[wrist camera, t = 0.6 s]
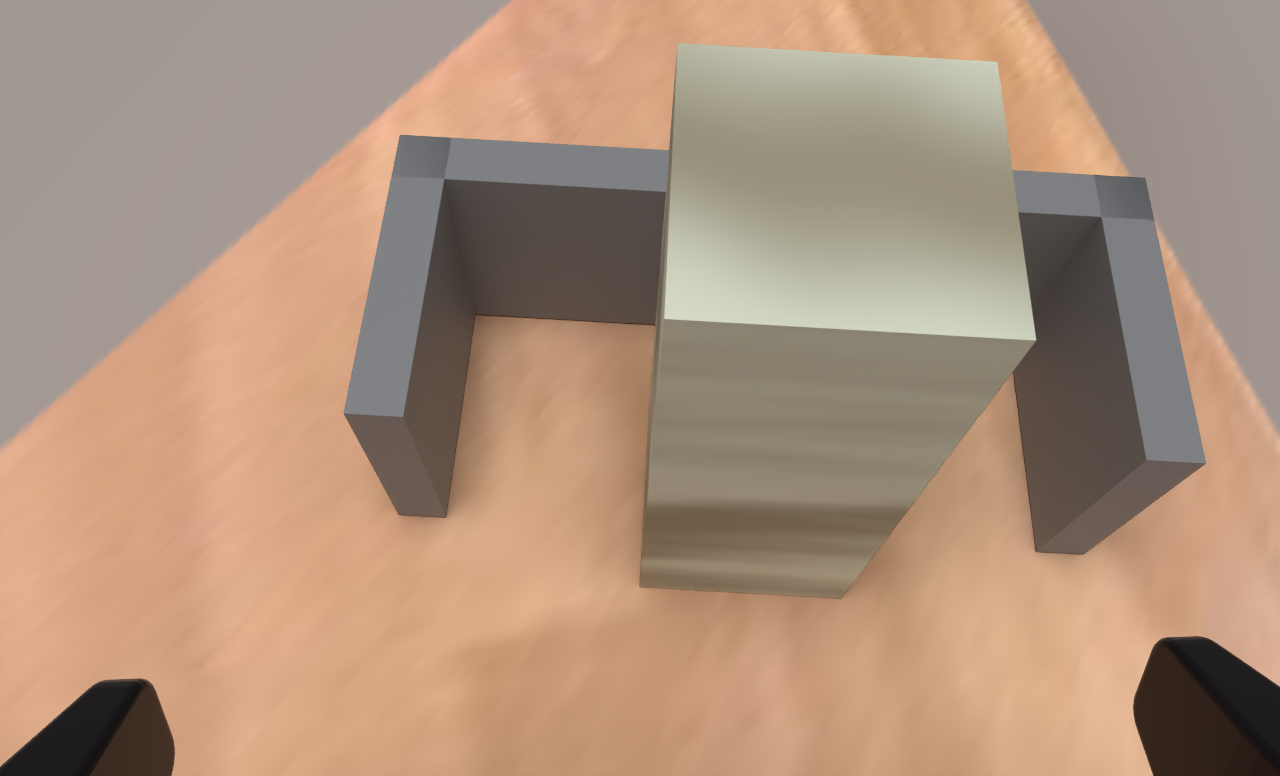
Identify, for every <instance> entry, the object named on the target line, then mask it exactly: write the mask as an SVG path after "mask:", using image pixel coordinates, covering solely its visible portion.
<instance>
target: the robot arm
mask: <svg viewBox="0 0 1280 776" xmlns="http://www.w3.org/2000/svg"><path fill="white" fill-rule="evenodd" d="M1133 711H1134V719H1135V723H1136V727H1137V730H1138V733H1139V736H1140V739H1141V741H1142V744H1143V747H1144V750H1145V753H1146V756H1147V759H1148V762H1149V764H1150V767H1151V770H1152V773H1153V776H1280V687H1279V686H1278V685H1277V684H1275V683H1274V682H1272V681H1271V680H1269V679H1268V678H1266V677H1265V676H1264V675H1262V674H1261V673H1259V672H1258V671H1256V670H1255V669H1253V668H1252V667H1250V666H1249V665H1248V664H1246V663H1245V662H1243V661H1242V660H1240V659H1239V658H1237V657H1236V656H1235V655H1233V654H1232V653H1230V652H1229V651H1227V650H1226V649H1224V648H1223V647H1222V646H1220V645H1219V644H1217V643H1215V642H1214V641H1212V640H1210V639H1208V638H1205V637H1200V636H1193V637H1168V638H1163V639H1161V640H1159V641H1158V642H1157V643H1156V644H1155V645H1154V647H1153V649H1152V652H1151V654H1150V657H1149V659H1148V662H1147V665H1146V667H1145V670H1144V673H1143V675H1142V678H1141V681H1140V683H1139V686H1138V689H1137V691H1136V694H1135V698H1134V705H1133ZM174 758H175V747H174V740H173V737H172V734H171V731H170V728H169V726H168V723H167V720H166V717H165V715H164V712H163V709H162V707H161V704H160V701H159V698H158V696H157V693H156V690H155V689H154V687H153V685H152V684H151V683H150V682H149V681H147V680H146V679H116V680H104V681H101V682H98V683H97V684H95V685H93V686H92V687H90V688H89V689H88V690H87V691H86V692H85V693H83V694H82V695H81V696H80V697H79V698H78V699H77V700H75V701H74V702H73V703H72V704H71V705H70V706H69V707H68V708H66V709H65V710H64V711H63V712H62V713H61V714H60V715H58V716H57V717H56V718H55V719H54V720H53V721H52V722H50V723H49V724H48V725H47V726H46V727H45V728H44V729H43V730H41V731H40V732H39V733H38V734H37V735H36V736H35V737H33V738H32V739H31V740H30V741H29V742H28V743H27V744H25V745H24V746H23V747H22V748H21V749H20V750H19V751H18V752H16V753H15V754H14V755H13V756H12V757H11V758H10V759H8V760H7V761H6V762H5V763H4V764H3V765H2V766H1V767H0V776H172V771H173V766H174Z"/></svg>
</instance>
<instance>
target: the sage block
mask: <svg viewBox="0 0 1280 776" xmlns="http://www.w3.org/2000/svg"><path fill="white" fill-rule="evenodd" d="M1035 342H1036V335H1035V328H1034V321H1033V314H1032V307H1031V300H1030V292H1029V285H1028V278H1027V271H1026V264H1025V257H1024V250H1023V243H1022V235H1021V228H1020V221H1019V214H1018V207H1017V200H1016V193H1015V186H1014V179H1013V171H1012V164H1011V157H1010V150H1009V143H1008V136H1007V129H1006V122H1005V114H1004V107H1003V100H1002V93H1001V86H1000V79H999V72H998V65H997V62H990V61H973V60H955V59H938V58H921V57H904V56H887V55H869V54H852V53H835V52H818V51H801V50H784V49H766V48H749V47H732V46H715V45H698V44H680V43H678V44H677V56H676V69H675V82H674V95H673V107H672V120H671V133H670V146H669V159H668V171H667V184H666V197H665V210H664V222H663V235H662V248H661V261H660V273H659V286H658V299H657V312H656V325H655V337H654V350H653V363H652V376H651V388H650V401H649V418H648V437H647V455H646V474H645V493H644V512H643V530H642V549H641V568H640V587H648V588H666V589H683V590H700V591H717V592H734V593H751V594H769V595H786V596H803V597H820V598H837V599H841V598H842V597H843V596H844V594H845V593H846V592H847V590H848V589H849V588H850V587H851V585H852V584H853V583H854V581H855V580H856V579H857V577H858V576H859V575H860V573H861V572H862V571H863V569H864V568H865V567H866V565H867V564H868V563H869V561H870V560H871V559H872V557H873V556H874V555H875V553H876V552H877V551H878V549H879V548H880V547H881V545H882V544H883V543H884V541H885V540H886V539H887V538H888V536H889V535H890V534H891V532H892V531H893V530H894V528H895V527H896V526H897V524H898V523H899V522H900V520H901V519H902V518H903V516H904V515H905V514H906V512H907V511H908V510H909V508H910V507H911V506H912V504H913V503H914V502H915V500H916V499H917V498H918V496H919V495H920V494H921V492H922V491H923V490H924V489H925V487H926V486H927V485H928V483H929V482H930V481H931V479H932V478H933V477H934V475H935V474H936V473H937V471H938V470H939V469H940V467H941V466H942V465H943V463H944V462H945V461H946V459H947V458H948V457H949V455H950V454H951V453H952V451H953V450H954V449H955V447H956V446H957V445H958V443H959V442H960V441H961V440H962V438H963V437H964V436H965V434H966V433H967V432H968V430H969V429H970V428H971V426H972V425H973V424H974V422H975V421H976V420H977V418H978V417H979V416H980V414H981V413H982V412H983V410H984V409H985V408H986V406H987V405H988V404H989V402H990V401H991V400H992V398H993V397H994V396H995V395H996V393H997V392H998V391H999V389H1000V388H1001V387H1002V385H1003V384H1004V383H1005V381H1006V380H1007V379H1008V377H1009V376H1010V375H1011V373H1012V372H1013V371H1014V369H1015V368H1016V367H1017V365H1018V364H1019V363H1020V361H1021V360H1022V359H1023V357H1024V356H1025V355H1026V353H1027V352H1028V351H1029V349H1030V348H1031V347H1032V346H1033V344H1034V343H1035Z"/></svg>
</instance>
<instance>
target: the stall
mask: <svg viewBox="0 0 1280 776" xmlns="http://www.w3.org/2000/svg"><path fill="white" fill-rule="evenodd" d="M668 159H669V150H653V149H636V148H619V147H601V146H584V145H567V144H549V143H532V142H515V141H497V140H480V139H463V138H445V137H428V136H411V135H400V137H399V142H398V147H397V152H396V157H395V162H394V167H393V172H392V177H391V182H390V187H389V192H388V197H387V202H386V207H385V212H384V216H383V221H382V226H381V231H380V236H379V241H378V246H377V251H376V256H375V261H374V266H373V271H372V276H371V281H370V286H369V291H368V296H367V301H366V306H365V311H364V315H363V320H362V325H361V330H360V335H359V340H358V345H357V350H356V355H355V360H354V365H353V370H352V375H351V380H350V385H349V390H348V395H347V400H346V405H345V410H344V415H345V417H346V419H347V420H348V422H349V424H350V426H351V428H352V430H353V431H354V433H355V435H356V437H357V439H358V441H359V443H360V444H361V446H362V448H363V450H364V452H365V454H366V455H367V457H368V459H369V461H370V463H371V465H372V466H373V468H374V470H375V472H376V474H377V476H378V477H379V479H380V481H381V483H382V485H383V487H384V489H385V490H386V492H387V494H388V496H389V498H390V500H391V501H392V503H393V505H394V507H395V509H396V511H397V512H398V514H399V515H414V516H431V517H446V513H447V506H448V499H449V493H450V486H451V479H452V472H453V465H454V458H455V451H456V444H457V437H458V430H459V423H460V417H461V410H462V403H463V396H464V389H465V382H466V375H467V368H468V361H469V354H470V348H471V341H472V334H473V327H474V320H475V314H478V315H495V316H513V317H530V318H547V319H564V320H582V321H599V322H616V323H634V324H651V325H656V312H657V299H658V286H659V273H660V261H661V248H662V235H663V222H664V210H665V197H666V184H667V171H668ZM1012 171H1013V179H1014V186H1015V193H1016V200H1017V207H1018V214H1019V221H1020V228H1021V235H1022V243H1023V250H1024V257H1025V264H1026V271H1027V278H1028V285H1029V292H1030V300H1031V307H1032V314H1033V321H1034V328H1035V335H1036V342H1035V343H1034V344H1033V346H1032V347H1031V348H1030V349H1029V351H1028V352H1027V353H1026V355H1025V356H1024V357H1023V359H1022V360H1021V361H1020V363H1019V364H1018V365H1017V367H1016V368H1015V369H1014V371H1013V373H1014V381H1015V389H1016V397H1017V404H1018V412H1019V420H1020V428H1021V436H1022V444H1023V452H1024V460H1025V467H1026V475H1027V483H1028V491H1029V499H1030V507H1031V515H1032V523H1033V530H1034V538H1035V546H1036V552H1051V553H1068V554H1085V553H1086V552H1087V551H1089V550H1090V549H1091V548H1093V547H1094V546H1095V545H1097V544H1098V543H1099V542H1101V541H1102V540H1104V539H1105V538H1106V537H1108V536H1109V535H1110V534H1112V533H1113V532H1114V531H1116V530H1117V529H1118V528H1120V527H1121V526H1122V525H1124V524H1125V523H1126V522H1128V521H1129V520H1130V519H1132V518H1133V517H1135V516H1136V515H1137V514H1139V513H1140V512H1141V511H1143V510H1144V509H1145V508H1147V507H1148V506H1149V505H1151V504H1152V503H1153V502H1155V501H1156V500H1157V499H1159V498H1160V497H1161V496H1163V495H1164V494H1166V493H1167V492H1168V491H1170V490H1171V489H1172V488H1174V487H1175V486H1176V485H1178V484H1179V483H1180V482H1182V481H1183V480H1184V479H1186V478H1187V477H1188V476H1190V475H1191V474H1192V473H1194V472H1195V471H1197V470H1198V469H1199V468H1201V467H1202V466H1203V465H1205V464H1206V461H1205V456H1204V452H1203V447H1202V442H1201V438H1200V433H1199V428H1198V424H1197V419H1196V414H1195V409H1194V405H1193V400H1192V395H1191V391H1190V386H1189V381H1188V377H1187V372H1186V367H1185V362H1184V358H1183V353H1182V348H1181V344H1180V339H1179V334H1178V330H1177V325H1176V320H1175V316H1174V311H1173V306H1172V301H1171V297H1170V292H1169V287H1168V283H1167V278H1166V273H1165V269H1164V264H1163V259H1162V254H1161V250H1160V245H1159V240H1158V236H1157V231H1156V226H1155V222H1154V217H1153V212H1152V208H1151V203H1150V199H1149V193H1148V189H1147V184H1146V180H1145V178H1137V177H1121V176H1103V175H1086V174H1069V173H1051V172H1034V171H1017V170H1012Z"/></svg>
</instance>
